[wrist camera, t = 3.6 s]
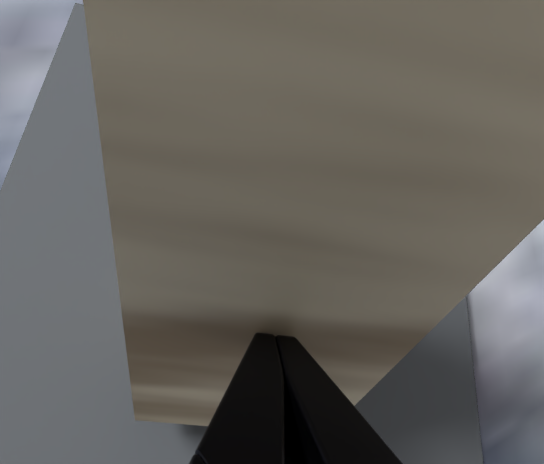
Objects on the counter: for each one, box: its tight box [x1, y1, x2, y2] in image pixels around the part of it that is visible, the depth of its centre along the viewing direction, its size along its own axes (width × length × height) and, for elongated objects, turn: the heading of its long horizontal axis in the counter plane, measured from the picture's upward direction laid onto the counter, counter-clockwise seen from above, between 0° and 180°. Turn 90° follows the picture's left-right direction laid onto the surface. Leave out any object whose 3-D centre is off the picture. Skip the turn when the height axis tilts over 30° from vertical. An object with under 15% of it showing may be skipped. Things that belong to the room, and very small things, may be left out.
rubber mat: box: [0, 3, 483, 464], centre depth 16 cm, size 26×20×1 cm
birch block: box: [83, 0, 544, 426], centre depth 9 cm, size 5×6×14 cm
